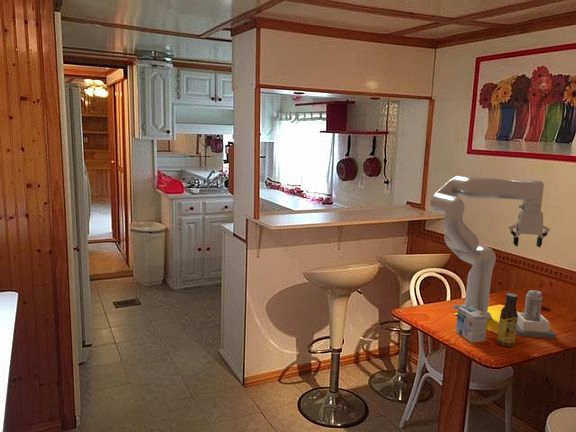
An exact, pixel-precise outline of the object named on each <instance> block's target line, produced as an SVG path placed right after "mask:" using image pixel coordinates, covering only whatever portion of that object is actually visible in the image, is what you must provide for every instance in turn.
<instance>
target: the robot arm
mask: <svg viewBox="0 0 576 432" xmlns="http://www.w3.org/2000/svg"><path fill="white" fill-rule="evenodd" d="M544 186H545V183H544V181H542V180H538V179H530V180H529V179H527V180H523V179H511V180H507V179H503V178H497V177H472V176H464V175H456V176H454V177H452V178H451V179H449V180H448V181H447V182H446V183H445V184H444V185H442V187H440V188H439V189H438V190H437V191H436V192H435V193H434V194H433V195H432V196H431V199H430V201H429V204H430V208H431V210H433V211H434V212H436V213H438V214H440V215H441V214H442V215H444V219H443V225H442V227H443V228H442V229H443V230H444V242H445V244H446V246H447V247H448V248H449V249H450V250H451V251H452V252H453V253H454V254H455V255H456V256H457V258H459V259H460V260H462V261H463V262H466V263H468V264H470V265H472V266H471V269H470V270H469V272H468V274H467V281H466V290H465V291H466V293H465V302H462V303H461V304H453V309H454V310H458V307H467V306H473V307H474V308H476V309H478V310H480V311H481V312H483V313H485V314H487V315H488V320H490V319H491V317H492V315H491V312H489V303H490V301H489V300H490V292H491V282H492V274H493V270H494V267H495V264H496V260H497V256H496V255H497V254H496V253H495V251H494V250H493V249H492V248H491V247H489V246H487V245H483V244H481V243H480V240H479V238H478V236H477V234H475V233H474V231H473V230H471V229H470V227H468V225H467V224H466V223H465V221H464V212H465V204H464V201H463V200H462V199H461V198H459V196H461V197H465V198H470V199H475V198H476V199H479V198H480V199H498V200H499V199H500V200H503V199H505V200H522V204H520V205H518V208H519V209H521V210H520V211H519V214H518V218H517V220H516V223H514V224H511V225H509V226H508V229H509V232H510V234H511V235H512V236H513V242H512V243H513V245H514V246H515V247H518V246H519V241H520V240H519V236H520V235H521V234H522V235H534V236H535V235H536V236H537V238H536V246H537V248H542V245H543V239H545V237H546V236H547V235H548V233H550V231H551V229H550V228H549V227H547V226H545V225H544V212H542V205H543V195H544ZM514 229H515V230H516V231H514Z"/></svg>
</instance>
